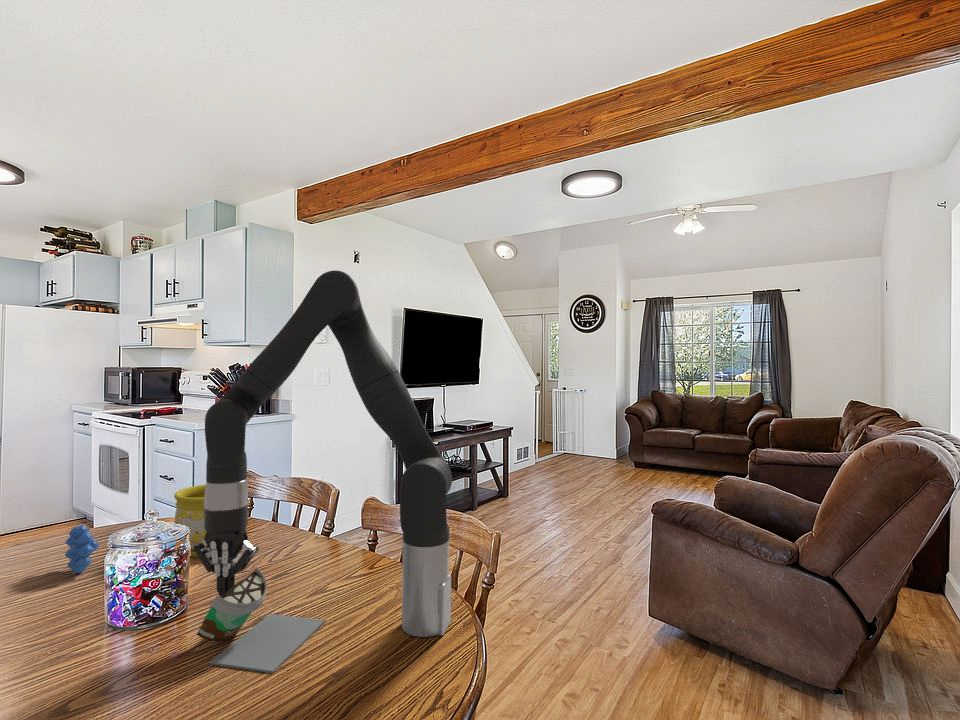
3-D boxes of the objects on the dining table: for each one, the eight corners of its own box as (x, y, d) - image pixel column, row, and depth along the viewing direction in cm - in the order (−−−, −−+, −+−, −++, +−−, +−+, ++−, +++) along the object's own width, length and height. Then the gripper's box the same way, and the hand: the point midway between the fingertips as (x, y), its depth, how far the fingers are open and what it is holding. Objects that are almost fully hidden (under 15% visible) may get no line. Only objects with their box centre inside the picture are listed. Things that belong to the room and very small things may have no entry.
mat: (324, 622, 106) (324, 620, 106) (272, 673, 89) (272, 671, 89) (270, 615, 109) (270, 613, 109) (209, 664, 91) (209, 662, 91)
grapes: (109, 573, 129) (110, 524, 129) (76, 582, 124) (76, 531, 124) (90, 562, 136) (91, 515, 136) (58, 570, 130) (59, 522, 131)
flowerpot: (259, 546, 150) (260, 488, 150) (197, 566, 134) (198, 502, 134) (222, 534, 159) (223, 480, 159) (160, 552, 144) (161, 492, 144)
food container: (216, 660, 94) (241, 617, 92) (190, 639, 95) (215, 596, 93) (258, 623, 106) (281, 584, 104) (235, 604, 107) (258, 566, 105)
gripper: (269, 500, 103) (268, 589, 103) (209, 496, 106) (208, 583, 106) (244, 511, 96) (243, 606, 96) (181, 506, 99) (180, 599, 98)
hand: (225, 594), depth 101 cm, fingers closed
